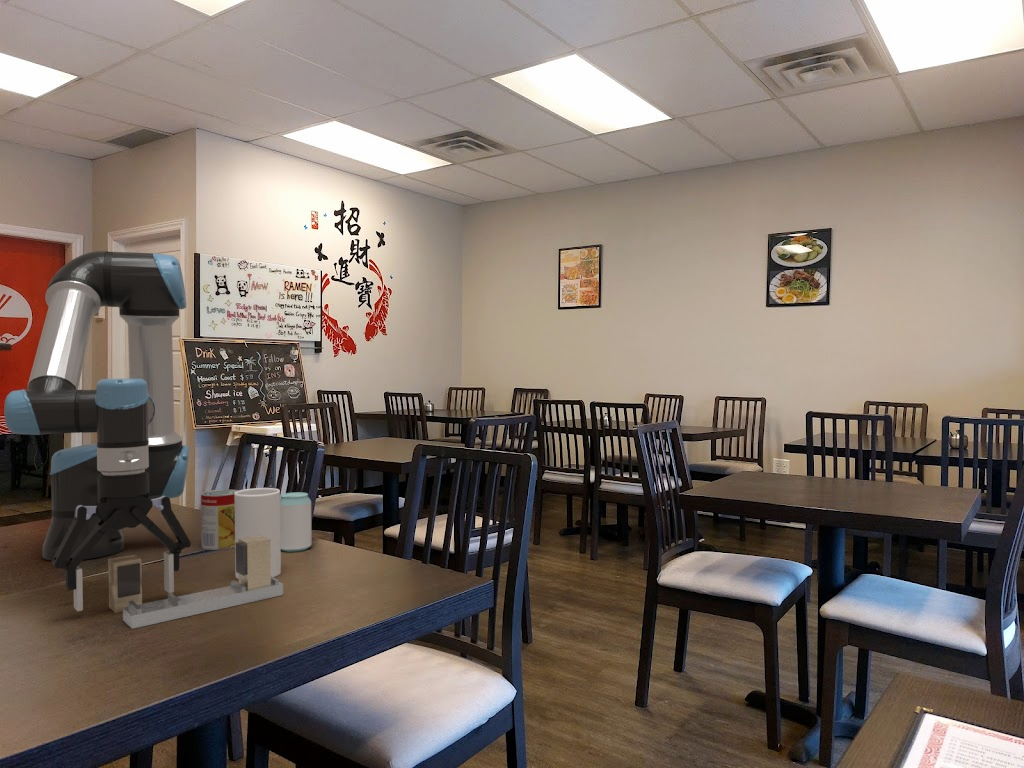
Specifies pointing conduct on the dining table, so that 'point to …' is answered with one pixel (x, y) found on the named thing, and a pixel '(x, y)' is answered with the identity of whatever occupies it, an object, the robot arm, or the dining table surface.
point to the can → (295, 522)
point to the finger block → (124, 582)
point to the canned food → (218, 519)
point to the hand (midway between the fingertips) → (125, 599)
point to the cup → (259, 520)
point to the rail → (251, 587)
